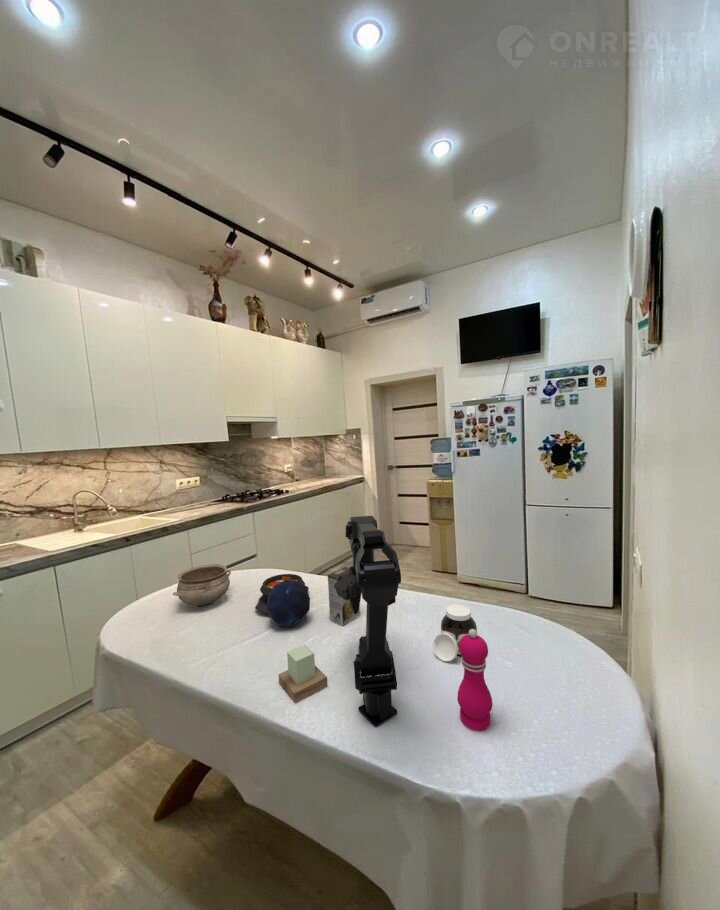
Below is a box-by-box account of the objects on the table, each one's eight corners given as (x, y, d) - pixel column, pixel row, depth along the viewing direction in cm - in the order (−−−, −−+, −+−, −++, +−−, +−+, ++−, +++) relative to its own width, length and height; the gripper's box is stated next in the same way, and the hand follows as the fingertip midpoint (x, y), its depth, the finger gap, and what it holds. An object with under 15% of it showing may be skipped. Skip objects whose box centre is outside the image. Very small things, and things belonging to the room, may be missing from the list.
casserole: (280, 586, 153) (279, 567, 153) (319, 591, 147) (318, 571, 147) (242, 614, 130) (241, 591, 129) (288, 621, 123) (286, 597, 123)
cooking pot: (215, 586, 156) (214, 559, 155) (246, 594, 146) (245, 565, 146) (159, 612, 134) (157, 580, 134) (191, 623, 125) (189, 588, 124)
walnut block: (327, 688, 90) (327, 676, 90) (295, 705, 85) (294, 693, 85) (310, 670, 97) (309, 660, 97) (279, 685, 92) (278, 674, 92)
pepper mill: (485, 705, 82) (483, 620, 81) (498, 731, 74) (496, 637, 73) (453, 707, 81) (451, 621, 80) (464, 734, 74) (461, 639, 73)
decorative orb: (283, 626, 110) (301, 577, 117) (250, 615, 118) (269, 570, 125) (309, 636, 120) (324, 590, 127) (276, 625, 128) (293, 582, 135)
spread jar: (477, 644, 106) (476, 605, 105) (479, 668, 95) (477, 625, 94) (435, 639, 109) (434, 602, 108) (432, 662, 98) (431, 620, 97)
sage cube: (315, 676, 90) (314, 653, 90) (297, 685, 87) (296, 661, 87) (305, 666, 94) (304, 644, 94) (288, 674, 91) (287, 651, 91)
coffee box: (346, 610, 129) (344, 566, 129) (360, 615, 125) (358, 570, 125) (329, 621, 122) (326, 574, 122) (343, 626, 118) (340, 578, 118)
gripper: (319, 561, 98) (322, 616, 99) (360, 581, 83) (362, 646, 84) (353, 552, 105) (355, 604, 106) (395, 569, 90) (398, 630, 91)
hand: (366, 620), depth 96 cm, fingers open, 9 cm apart
